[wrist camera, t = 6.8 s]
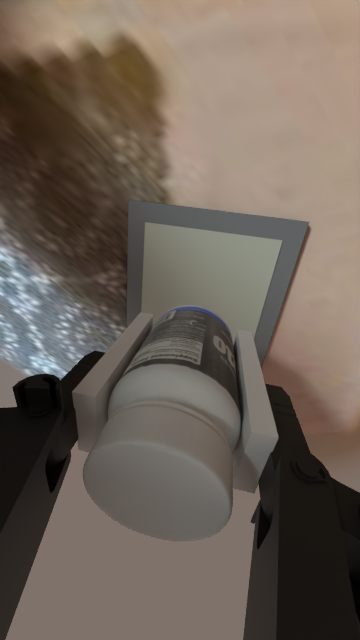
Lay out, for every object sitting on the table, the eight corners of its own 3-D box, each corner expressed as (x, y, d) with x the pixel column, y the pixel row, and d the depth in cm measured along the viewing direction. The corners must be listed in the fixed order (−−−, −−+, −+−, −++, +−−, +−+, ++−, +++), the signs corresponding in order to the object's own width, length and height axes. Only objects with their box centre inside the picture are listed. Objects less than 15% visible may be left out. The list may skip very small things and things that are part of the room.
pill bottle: (236, 371, 14) (255, 561, 6) (161, 375, 15) (99, 541, 7) (228, 297, 12) (242, 434, 4) (144, 307, 13) (37, 432, 5)
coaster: (128, 344, 25) (125, 347, 24) (130, 200, 19) (127, 199, 18) (258, 369, 23) (259, 373, 23) (306, 221, 17) (309, 221, 17)
